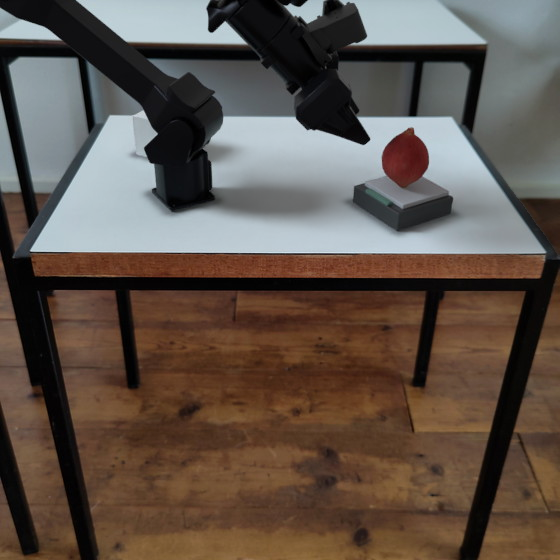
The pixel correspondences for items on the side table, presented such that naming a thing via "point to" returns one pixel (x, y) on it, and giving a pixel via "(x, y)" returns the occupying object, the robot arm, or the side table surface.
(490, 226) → the side table surface
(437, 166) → the side table surface
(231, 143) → the side table surface
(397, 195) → the scale
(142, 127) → the white cube
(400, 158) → the onion
